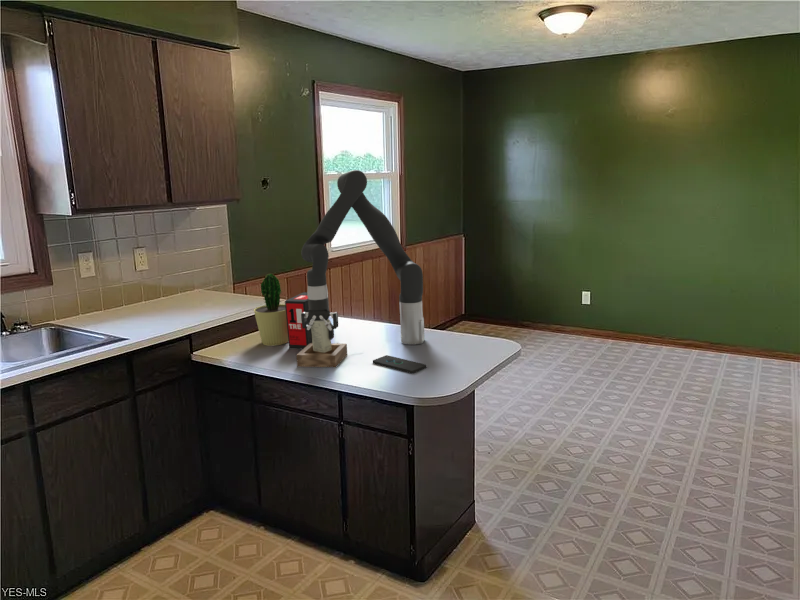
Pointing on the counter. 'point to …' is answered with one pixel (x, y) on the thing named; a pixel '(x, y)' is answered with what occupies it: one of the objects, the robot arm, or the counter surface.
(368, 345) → the counter surface
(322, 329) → the skincare box
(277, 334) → the potted cactus
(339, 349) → the block
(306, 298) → the cleaning product box
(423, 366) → the smart home device
